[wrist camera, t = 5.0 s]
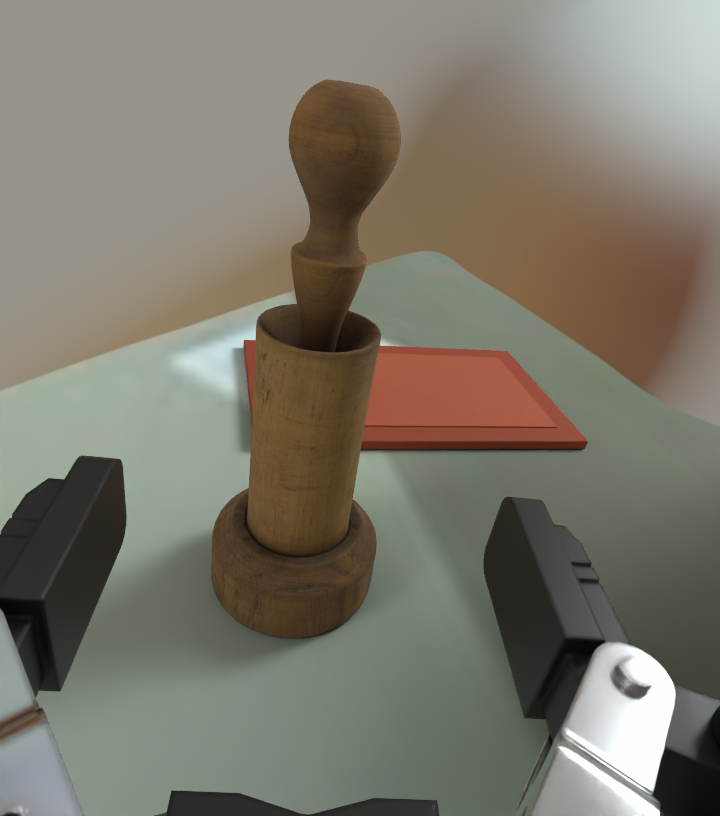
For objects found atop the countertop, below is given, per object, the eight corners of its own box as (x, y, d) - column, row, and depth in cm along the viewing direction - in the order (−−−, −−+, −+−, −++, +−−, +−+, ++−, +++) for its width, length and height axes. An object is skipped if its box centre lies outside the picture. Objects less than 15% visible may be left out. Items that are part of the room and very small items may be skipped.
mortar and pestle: (197, 530, 26) (200, 53, 17) (335, 506, 29) (404, 84, 19) (231, 659, 21) (265, 80, 12) (395, 616, 24) (528, 117, 14)
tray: (505, 357, 46) (507, 349, 46) (585, 449, 37) (588, 439, 36) (243, 347, 41) (244, 338, 41) (254, 450, 31) (255, 439, 31)
